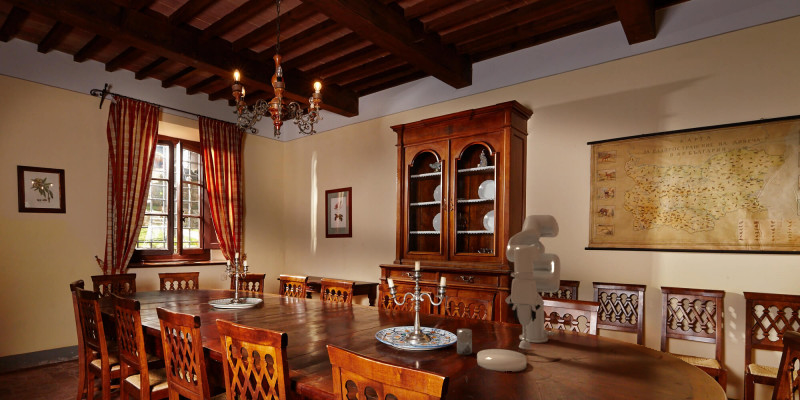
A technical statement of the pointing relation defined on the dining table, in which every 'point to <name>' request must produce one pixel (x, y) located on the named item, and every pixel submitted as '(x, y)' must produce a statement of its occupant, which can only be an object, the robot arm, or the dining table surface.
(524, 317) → the chalice
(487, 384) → the dining table surface
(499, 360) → the stand
